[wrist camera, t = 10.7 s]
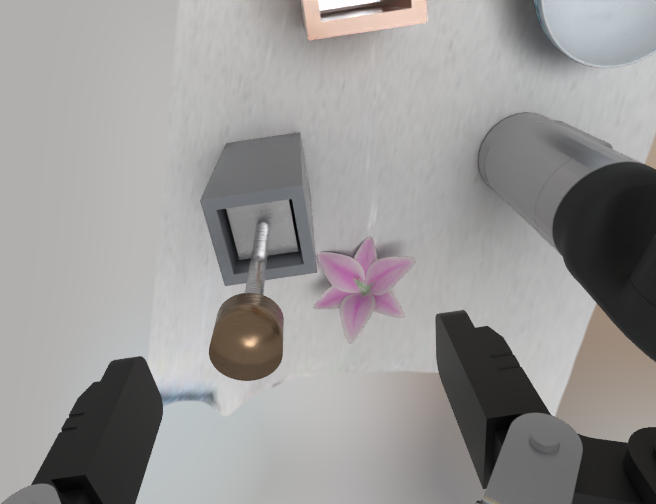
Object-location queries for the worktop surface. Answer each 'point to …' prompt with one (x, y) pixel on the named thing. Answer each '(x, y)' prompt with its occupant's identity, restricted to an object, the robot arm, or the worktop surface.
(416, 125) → the worktop surface
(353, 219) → the worktop surface
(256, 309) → the tall bronze-capped rod
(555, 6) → the chinaware
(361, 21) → the press terracotta
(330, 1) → the bronze knob plunger
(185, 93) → the worktop surface
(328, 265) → the lily
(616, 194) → the robot arm
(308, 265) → the grey square holder
